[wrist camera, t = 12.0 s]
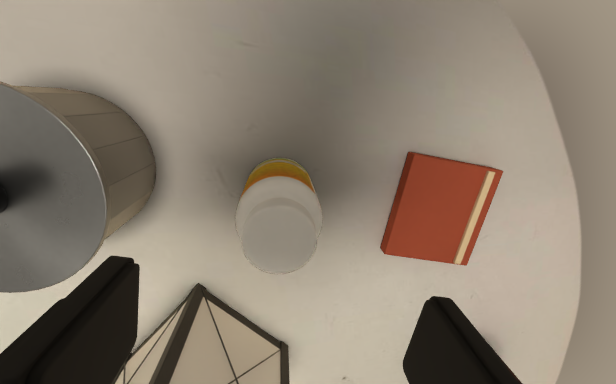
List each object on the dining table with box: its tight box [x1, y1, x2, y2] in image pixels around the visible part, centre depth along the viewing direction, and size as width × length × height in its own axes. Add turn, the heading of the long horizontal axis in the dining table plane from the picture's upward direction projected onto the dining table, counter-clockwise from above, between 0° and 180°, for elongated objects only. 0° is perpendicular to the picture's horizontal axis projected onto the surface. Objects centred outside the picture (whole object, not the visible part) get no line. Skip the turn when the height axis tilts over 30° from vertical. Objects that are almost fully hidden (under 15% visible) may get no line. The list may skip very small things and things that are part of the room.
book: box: [381, 152, 503, 265], centre depth 26 cm, size 9×8×2 cm
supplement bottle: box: [235, 158, 323, 274], centre depth 20 cm, size 5×5×10 cm
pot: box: [14, 86, 156, 239], centre depth 19 cm, size 11×11×8 cm
